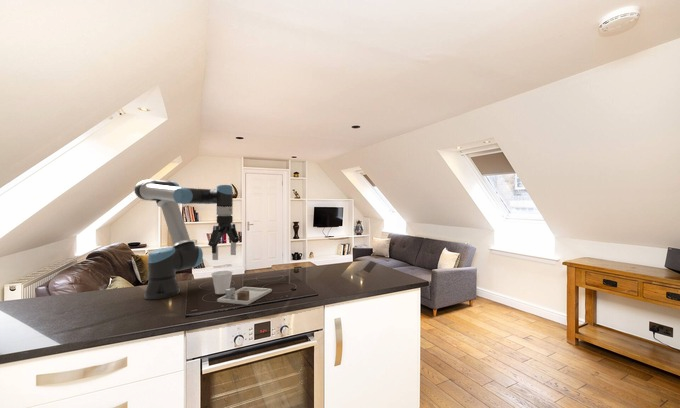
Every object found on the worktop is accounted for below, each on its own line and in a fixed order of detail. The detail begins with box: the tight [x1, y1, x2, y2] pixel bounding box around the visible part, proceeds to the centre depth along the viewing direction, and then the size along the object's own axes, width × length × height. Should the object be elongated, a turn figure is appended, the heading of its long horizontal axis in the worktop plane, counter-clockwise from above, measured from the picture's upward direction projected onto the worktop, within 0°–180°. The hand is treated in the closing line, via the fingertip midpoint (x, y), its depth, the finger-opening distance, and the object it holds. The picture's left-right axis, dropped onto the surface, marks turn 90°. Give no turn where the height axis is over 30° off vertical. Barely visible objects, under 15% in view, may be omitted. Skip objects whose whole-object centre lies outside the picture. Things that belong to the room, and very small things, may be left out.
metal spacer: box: [225, 287, 236, 300], centre depth 131 cm, size 4×4×5 cm
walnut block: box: [237, 291, 249, 301], centre depth 129 cm, size 4×4×4 cm
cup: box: [211, 270, 233, 295], centre depth 143 cm, size 10×10×11 cm
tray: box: [216, 286, 273, 306], centre depth 135 cm, size 16×20×2 cm
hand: (224, 257), depth 143 cm, fingers open, 13 cm apart
